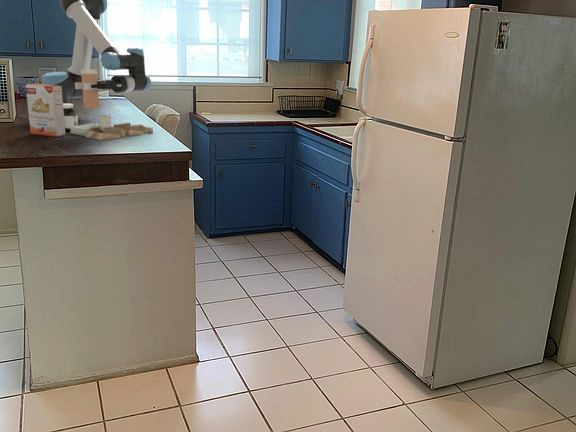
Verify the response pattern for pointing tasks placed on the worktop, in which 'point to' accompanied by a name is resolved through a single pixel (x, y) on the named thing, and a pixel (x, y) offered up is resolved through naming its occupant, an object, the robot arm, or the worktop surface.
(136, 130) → the wooden blocks
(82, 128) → the tray
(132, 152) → the worktop surface
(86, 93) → the lidded box
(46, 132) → the cracker box
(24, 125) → the worktop surface
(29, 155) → the worktop surface
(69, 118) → the spread jar
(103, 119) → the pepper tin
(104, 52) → the robot arm
